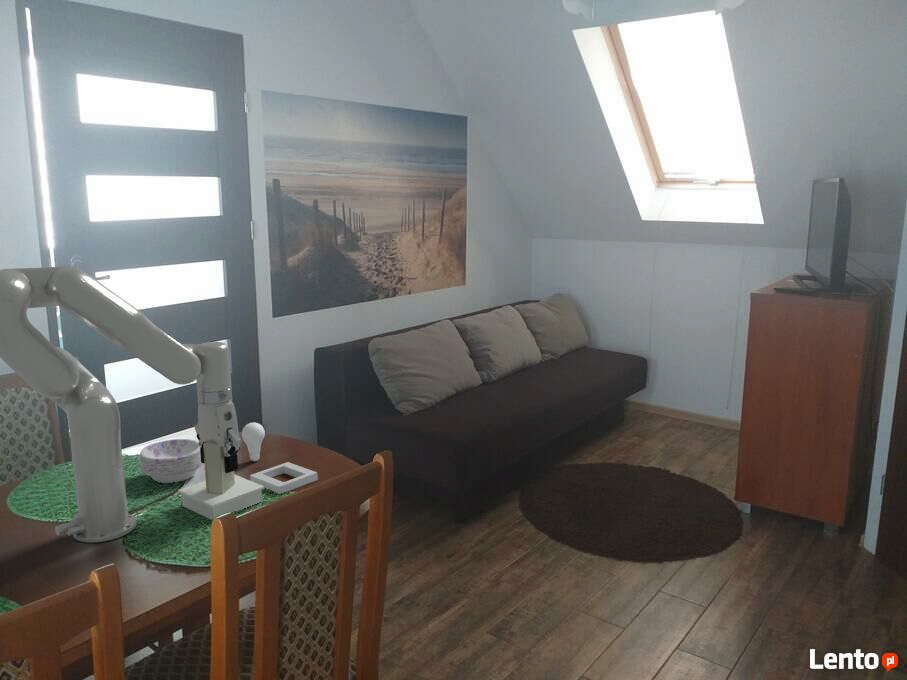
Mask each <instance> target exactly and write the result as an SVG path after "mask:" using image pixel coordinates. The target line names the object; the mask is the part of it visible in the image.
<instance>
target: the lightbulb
mask: <svg viewBox="0 0 907 680" xmlns="http://www.w3.org/2000/svg"><path fill="white" fill-rule="evenodd" d="M265 435H266V432H265V428H264V427H263V425H261V424H260V423H258V422H249V423H247V424H245V425H244V427H243V428H242V431H241V439H242V440H243V441H244V443H245V445H246V446H247V451H248V454H249V460H250V461H252V462H258V460H260V452H261V447H262V446H261V445H262V443H263V441H264V438H265Z"/></svg>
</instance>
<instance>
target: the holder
mask: <svg viewBox="0 0 907 680" xmlns="http://www.w3.org/2000/svg"><path fill="white" fill-rule="evenodd" d="M283 474H284V475H288V476H291V477H293V478H292V479H289V480H287V481H281V480H279V479H277V478H275V477H277V476H280V475H281V476H282V475H283ZM249 480H250V481H252V482H255V483H257V484H260V485H262V486H264V487H265V488H268V489H270V490H272V491H274V492H273V493H275V492H276V493H275V494H277V493H278V494H277V495H282V494H284V492H285V493H287V492H289V491H292V490H296V489H298V488H300V487H303V486H306V485H308V484H311V483H314V482H316V481H318V480H319V475H318V472H317V471H314V470H311V469H309V468H306V467H303V466H300V465H297V464H294V463H291V462H289V461H287V462H284V463H281V464H278V465H275V466H272V467H270V468H267V469H264V470H261V471H258V472H256V473H252V474H249ZM265 488H264V489H265ZM270 490H269V491H270ZM272 491H271V492H272ZM281 493H282V494H281Z"/></svg>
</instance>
